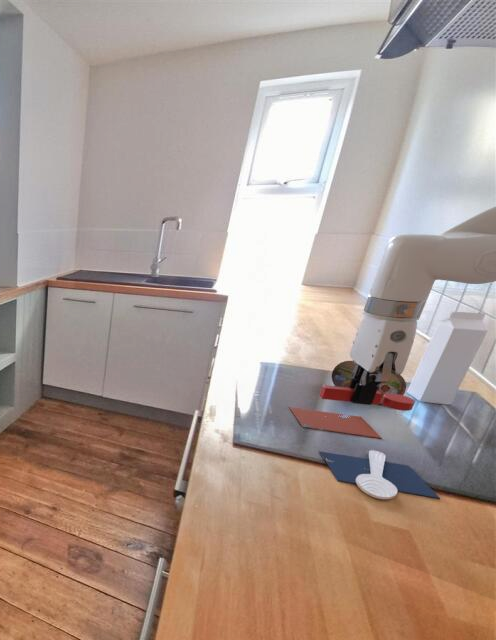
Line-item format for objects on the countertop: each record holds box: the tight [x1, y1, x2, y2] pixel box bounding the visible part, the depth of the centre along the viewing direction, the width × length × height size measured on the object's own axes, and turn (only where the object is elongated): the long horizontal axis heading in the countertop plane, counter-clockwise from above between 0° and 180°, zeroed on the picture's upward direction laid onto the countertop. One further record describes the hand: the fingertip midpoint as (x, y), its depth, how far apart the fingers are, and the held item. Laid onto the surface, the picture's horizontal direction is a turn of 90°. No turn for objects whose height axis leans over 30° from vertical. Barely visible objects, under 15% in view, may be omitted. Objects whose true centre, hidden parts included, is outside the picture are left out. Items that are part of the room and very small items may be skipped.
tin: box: [331, 360, 407, 405], centre depth 103 cm, size 15×3×8 cm, turn 17°
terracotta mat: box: [289, 406, 382, 440], centre depth 93 cm, size 14×10×1 cm
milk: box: [406, 311, 489, 406], centre depth 99 cm, size 6×6×22 cm
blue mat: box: [318, 450, 441, 500], centre depth 75 cm, size 14×10×1 cm
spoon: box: [355, 449, 398, 500], centre depth 74 cm, size 5×18×1 cm, turn 138°
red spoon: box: [319, 384, 416, 412], centre depth 80 cm, size 14×4×2 cm, turn 69°
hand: (358, 400), depth 81 cm, fingers closed on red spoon, 1 cm apart
